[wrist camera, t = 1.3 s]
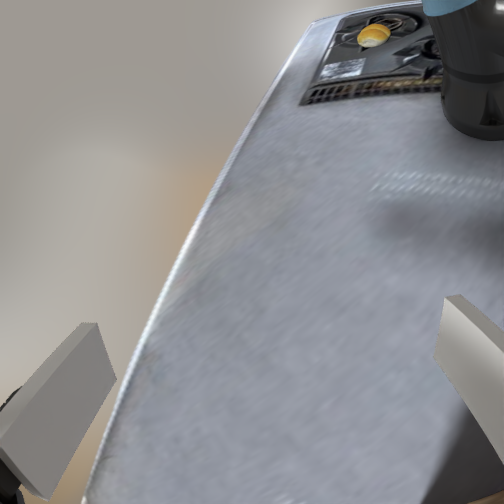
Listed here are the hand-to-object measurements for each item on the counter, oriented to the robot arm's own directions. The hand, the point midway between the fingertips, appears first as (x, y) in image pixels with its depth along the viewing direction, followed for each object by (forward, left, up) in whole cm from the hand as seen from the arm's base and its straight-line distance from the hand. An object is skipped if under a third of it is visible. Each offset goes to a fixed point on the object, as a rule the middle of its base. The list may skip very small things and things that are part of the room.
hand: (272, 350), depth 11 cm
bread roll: (-47, -59, -24) cm, 79 cm away
